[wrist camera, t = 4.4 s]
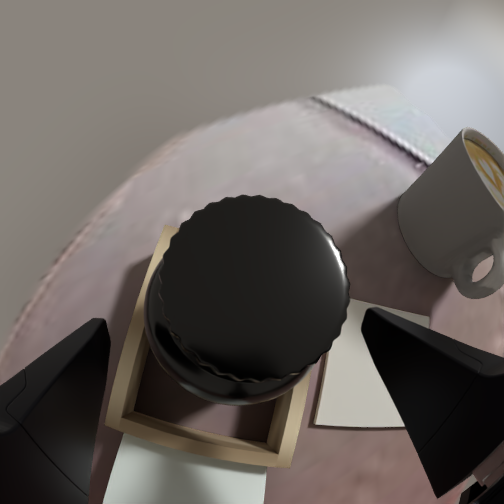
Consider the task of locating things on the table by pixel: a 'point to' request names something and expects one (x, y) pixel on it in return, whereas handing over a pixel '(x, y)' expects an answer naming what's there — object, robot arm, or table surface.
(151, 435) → the frame
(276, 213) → the supplement bottle
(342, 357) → the felt mat
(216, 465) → the frame lid
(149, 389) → the table surface
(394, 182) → the table surface
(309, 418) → the table surface
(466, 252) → the coffee mug
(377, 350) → the robot arm
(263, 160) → the table surface
